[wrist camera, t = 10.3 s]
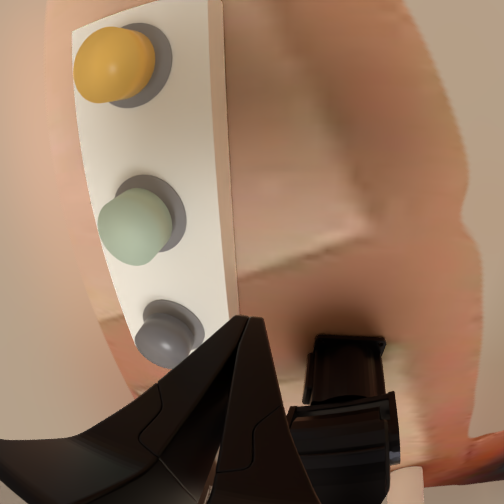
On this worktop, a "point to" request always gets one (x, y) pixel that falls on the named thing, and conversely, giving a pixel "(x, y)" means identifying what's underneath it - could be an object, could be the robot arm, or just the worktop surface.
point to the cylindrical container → (406, 486)
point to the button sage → (135, 226)
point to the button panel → (170, 165)
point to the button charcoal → (164, 340)
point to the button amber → (113, 64)
